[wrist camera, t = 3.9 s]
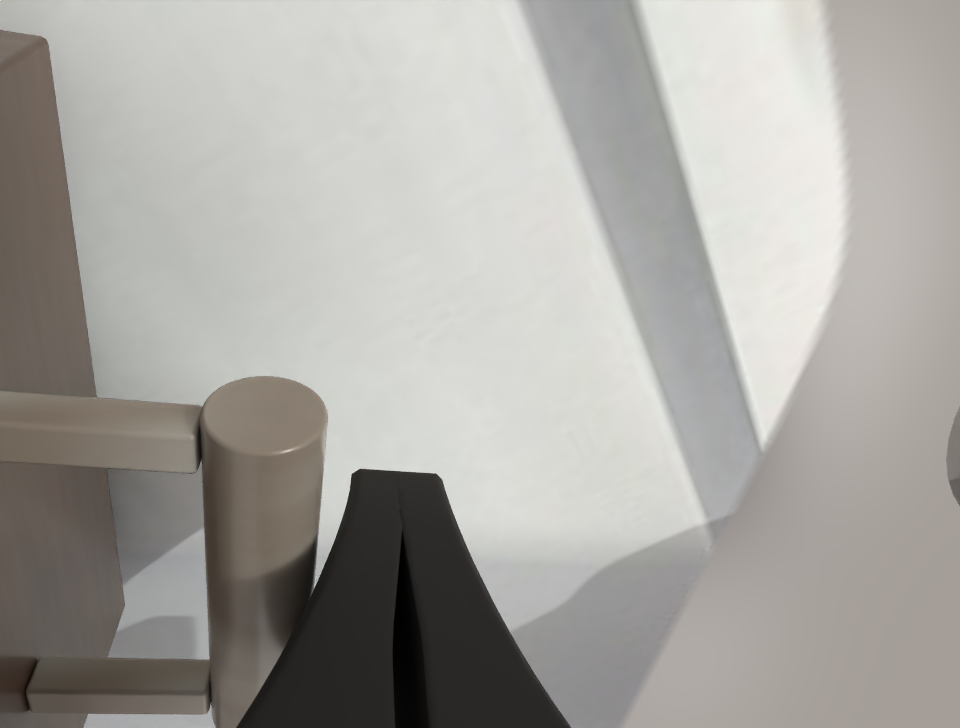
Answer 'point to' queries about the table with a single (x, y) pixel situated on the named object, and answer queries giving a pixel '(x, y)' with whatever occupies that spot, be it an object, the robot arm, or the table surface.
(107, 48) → the table surface
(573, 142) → the table surface
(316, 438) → the drawer
